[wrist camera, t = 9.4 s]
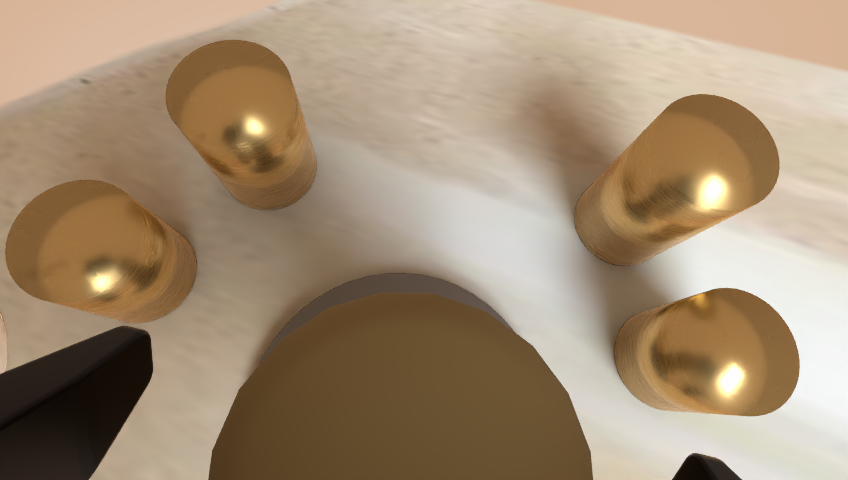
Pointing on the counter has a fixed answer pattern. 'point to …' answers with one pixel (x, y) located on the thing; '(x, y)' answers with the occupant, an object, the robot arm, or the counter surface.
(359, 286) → the coaster
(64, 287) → the cylinder
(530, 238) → the counter surface
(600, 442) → the counter surface
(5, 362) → the vr controller
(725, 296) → the cylinder
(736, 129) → the cylinder
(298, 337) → the brown pawn piece
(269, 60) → the cylinder
